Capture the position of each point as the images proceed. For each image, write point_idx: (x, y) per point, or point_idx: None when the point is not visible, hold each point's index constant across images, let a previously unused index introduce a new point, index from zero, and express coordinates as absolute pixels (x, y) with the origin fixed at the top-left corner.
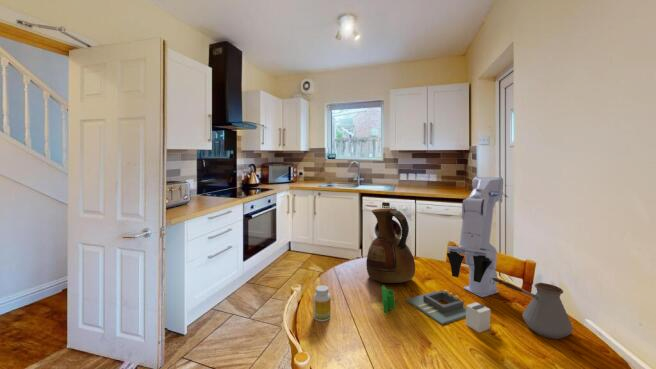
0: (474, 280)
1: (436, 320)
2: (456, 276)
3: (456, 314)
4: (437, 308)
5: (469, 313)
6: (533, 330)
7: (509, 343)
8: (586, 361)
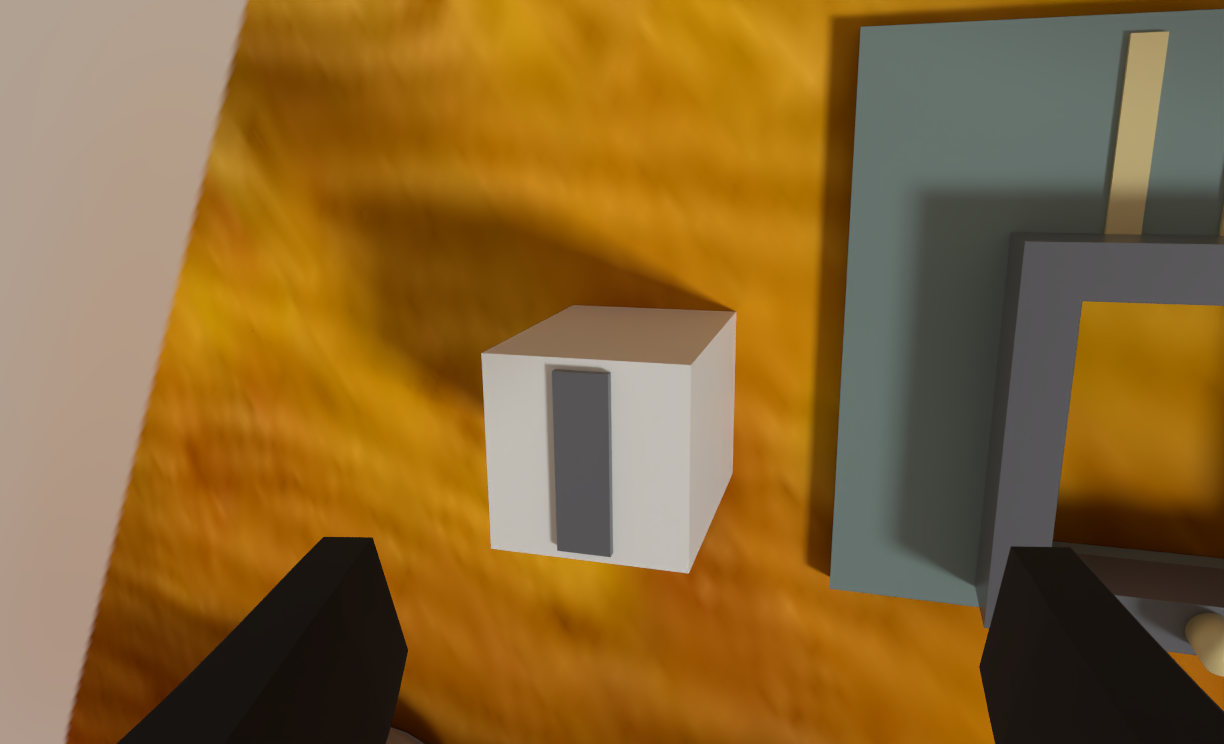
0: (340, 545)
1: (958, 24)
2: (993, 638)
3: (905, 368)
4: (1141, 234)
5: (654, 341)
6: (409, 737)
7: (369, 398)
8: (104, 641)
